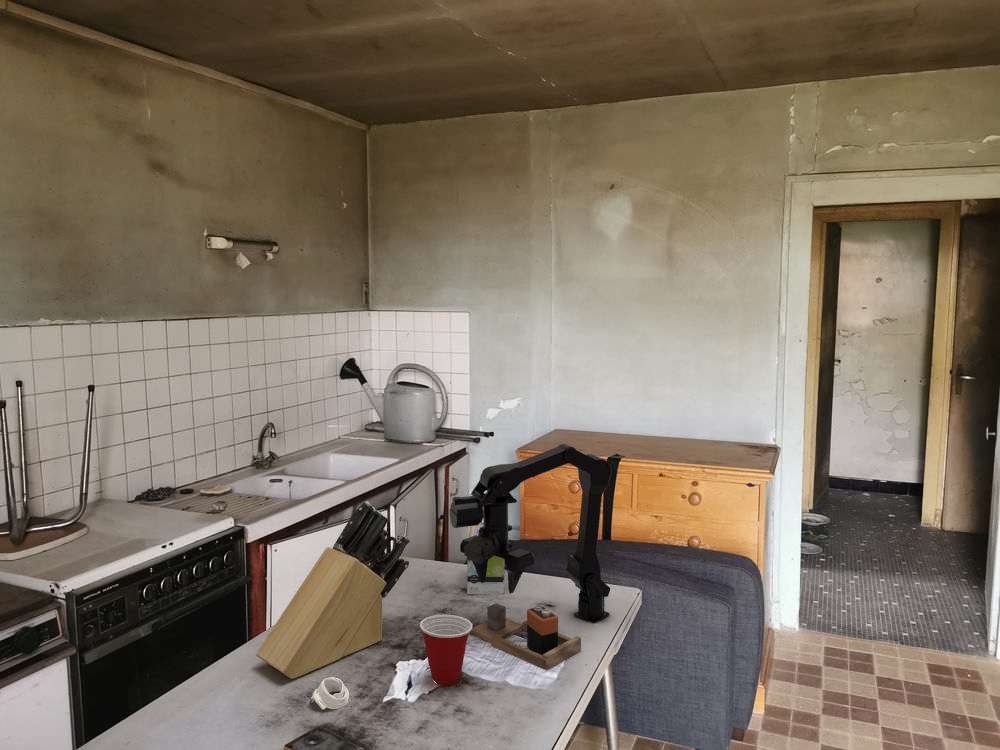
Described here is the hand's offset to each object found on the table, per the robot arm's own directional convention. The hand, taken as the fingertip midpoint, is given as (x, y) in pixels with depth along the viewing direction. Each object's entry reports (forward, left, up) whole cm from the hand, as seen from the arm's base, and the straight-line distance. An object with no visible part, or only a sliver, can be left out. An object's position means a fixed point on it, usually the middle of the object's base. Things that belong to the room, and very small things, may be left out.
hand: (496, 587), depth 176 cm
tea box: (-19, -22, -11) cm, 31 cm away
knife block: (+29, -21, -11) cm, 38 cm away
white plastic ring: (+43, -3, -11) cm, 45 cm away
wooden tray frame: (0, +8, -11) cm, 13 cm away
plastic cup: (+22, +7, -11) cm, 26 cm away
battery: (0, +14, -11) cm, 18 cm away
